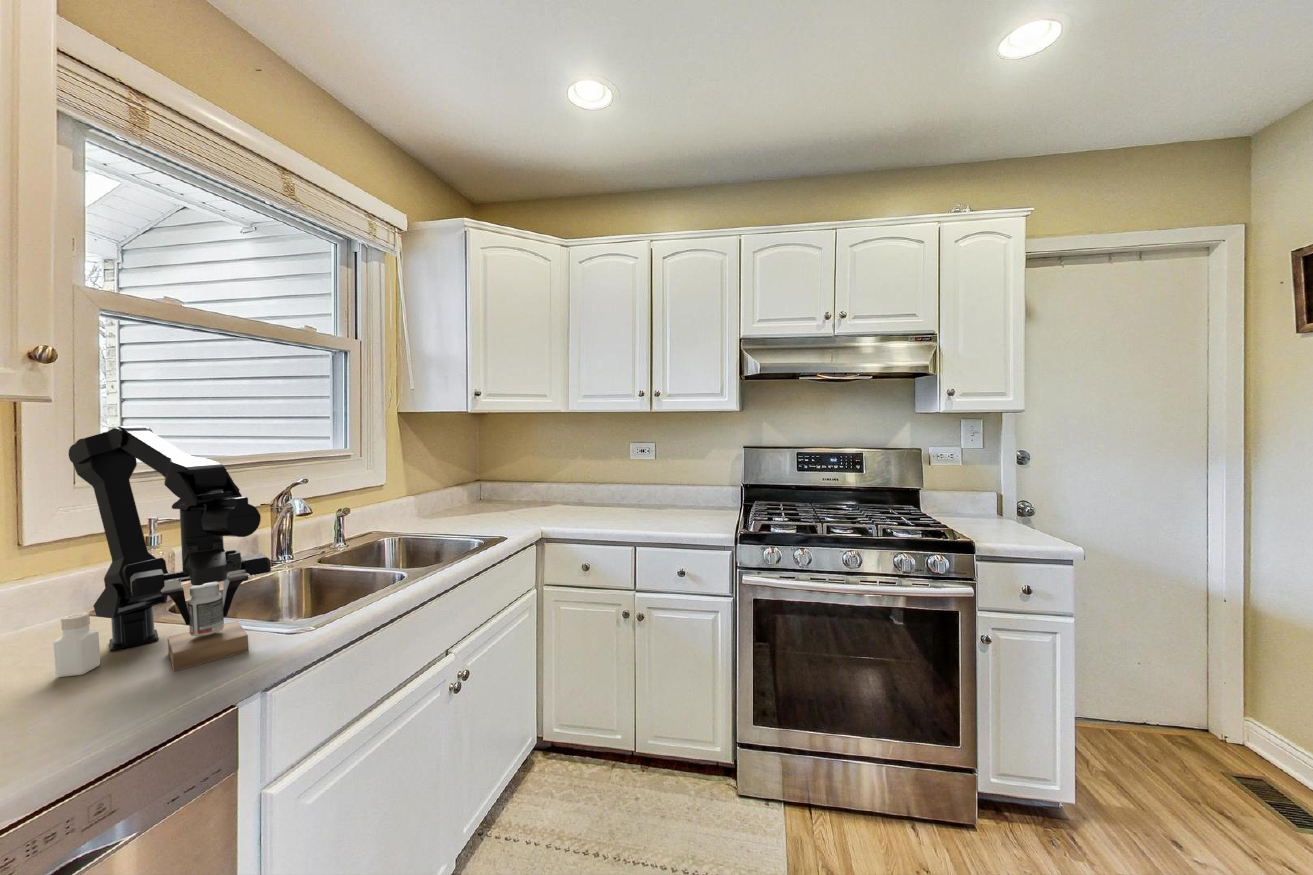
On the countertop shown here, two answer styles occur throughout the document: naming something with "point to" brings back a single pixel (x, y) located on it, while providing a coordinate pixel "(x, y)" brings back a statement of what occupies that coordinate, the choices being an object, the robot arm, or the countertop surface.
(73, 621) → the pepper shaker
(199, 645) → the brown square block
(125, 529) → the robot arm
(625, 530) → the countertop surface
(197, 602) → the pill bottle
